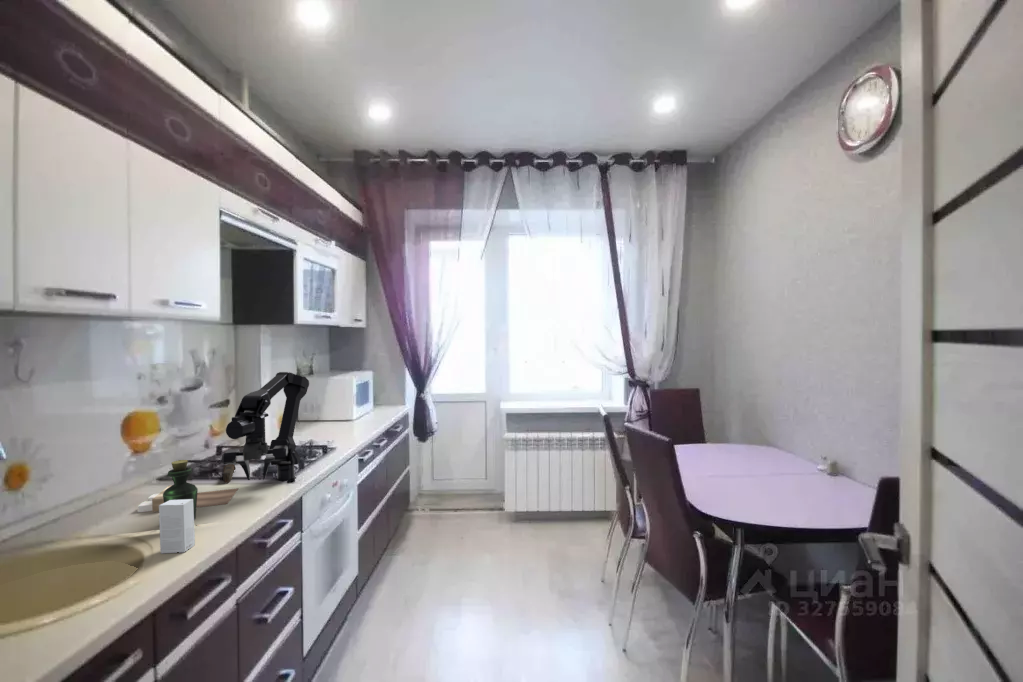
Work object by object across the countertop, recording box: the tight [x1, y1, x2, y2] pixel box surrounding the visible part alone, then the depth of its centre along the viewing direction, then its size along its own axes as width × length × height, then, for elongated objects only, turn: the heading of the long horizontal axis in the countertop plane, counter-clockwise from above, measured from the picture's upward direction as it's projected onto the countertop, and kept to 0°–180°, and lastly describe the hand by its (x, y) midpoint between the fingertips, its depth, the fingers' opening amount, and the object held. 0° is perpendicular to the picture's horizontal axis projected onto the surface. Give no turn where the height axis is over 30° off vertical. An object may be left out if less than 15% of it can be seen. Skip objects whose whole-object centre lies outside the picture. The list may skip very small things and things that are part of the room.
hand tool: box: [222, 463, 236, 484], centre depth 176 cm, size 19×4×5 cm, turn 26°
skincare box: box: [158, 499, 196, 554], centre depth 118 cm, size 6×4×12 cm
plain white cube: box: [147, 493, 159, 501], centre depth 151 cm, size 4×4×3 cm
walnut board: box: [196, 488, 239, 509], centre depth 152 cm, size 16×14×1 cm
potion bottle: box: [163, 459, 199, 521], centre depth 133 cm, size 8×8×18 cm
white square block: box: [136, 500, 153, 513], centre depth 143 cm, size 4×4×3 cm
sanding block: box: [151, 484, 173, 513], centre depth 148 cm, size 14×4×5 cm, turn 19°
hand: (256, 479), depth 157 cm, fingers open, 4 cm apart
